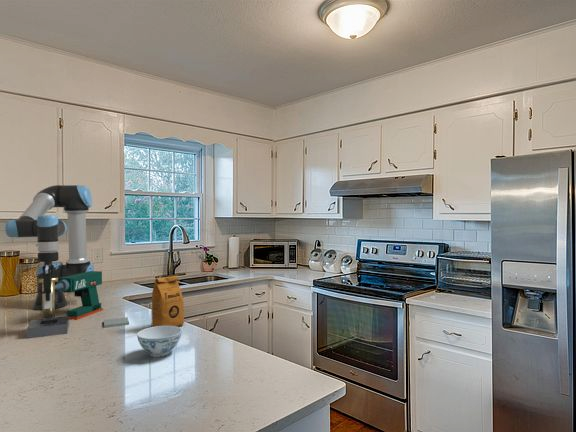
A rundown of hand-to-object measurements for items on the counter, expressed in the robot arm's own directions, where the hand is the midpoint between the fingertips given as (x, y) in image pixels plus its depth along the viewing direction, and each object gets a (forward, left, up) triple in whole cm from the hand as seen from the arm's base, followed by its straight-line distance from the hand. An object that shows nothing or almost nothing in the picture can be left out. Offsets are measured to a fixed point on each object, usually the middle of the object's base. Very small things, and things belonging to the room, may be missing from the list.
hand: (48, 307), depth 167 cm
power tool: (-19, +9, -10) cm, 24 cm away
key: (0, 0, -4) cm, 4 cm away
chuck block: (0, 0, -10) cm, 10 cm away
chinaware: (+49, +38, -10) cm, 63 cm away
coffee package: (+17, +46, -10) cm, 50 cm away
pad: (0, +26, -10) cm, 28 cm away
